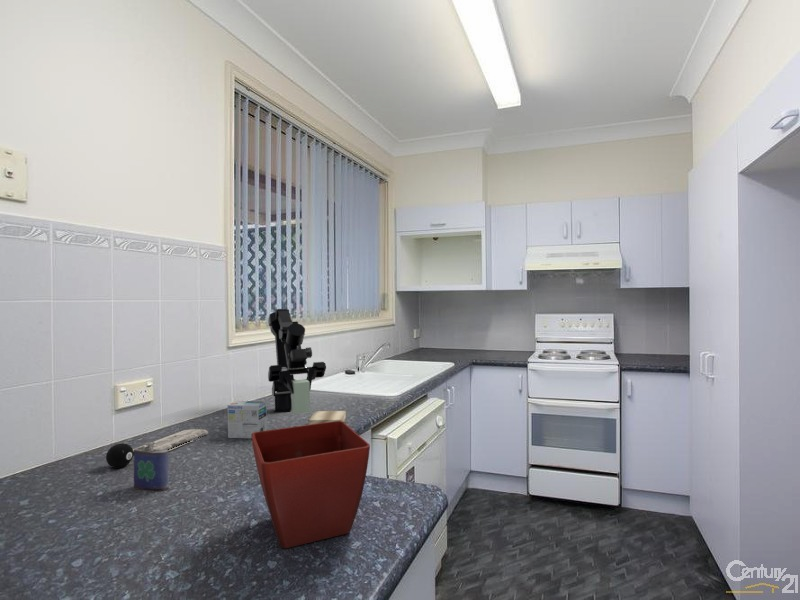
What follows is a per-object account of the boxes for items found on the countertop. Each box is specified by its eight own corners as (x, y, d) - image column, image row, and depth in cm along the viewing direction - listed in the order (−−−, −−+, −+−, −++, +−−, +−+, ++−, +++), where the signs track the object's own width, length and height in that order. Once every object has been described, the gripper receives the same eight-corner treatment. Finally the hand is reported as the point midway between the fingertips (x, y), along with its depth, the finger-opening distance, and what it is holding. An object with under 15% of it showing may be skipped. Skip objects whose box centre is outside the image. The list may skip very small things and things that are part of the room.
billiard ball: (120, 471, 115) (120, 448, 115) (100, 470, 116) (100, 447, 116) (138, 463, 121) (138, 441, 121) (119, 462, 122) (119, 440, 122)
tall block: (291, 410, 148) (291, 380, 148) (306, 408, 150) (306, 379, 150) (294, 414, 144) (294, 383, 144) (310, 412, 146) (309, 381, 146)
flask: (171, 487, 104) (170, 441, 104) (161, 492, 102) (160, 445, 101) (140, 483, 107) (139, 439, 107) (129, 488, 104) (128, 442, 104)
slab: (308, 429, 150) (308, 420, 150) (315, 419, 162) (315, 411, 162) (341, 428, 150) (341, 419, 150) (345, 419, 162) (345, 410, 162)
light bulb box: (267, 432, 147) (267, 400, 147) (259, 439, 140) (258, 404, 140) (236, 432, 148) (236, 399, 148) (227, 438, 141) (226, 404, 141)
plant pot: (263, 566, 73) (261, 462, 73) (251, 515, 90) (250, 431, 90) (373, 539, 80) (371, 445, 80) (343, 497, 98) (342, 420, 98)
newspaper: (157, 459, 125) (156, 450, 125) (124, 460, 129) (123, 451, 129) (214, 435, 146) (214, 427, 146) (185, 436, 150) (184, 428, 150)
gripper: (268, 341, 147) (274, 380, 137) (324, 338, 154) (333, 375, 144) (265, 362, 154) (271, 400, 144) (319, 358, 161) (327, 394, 151)
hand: (301, 392), depth 146 cm, fingers closed on tall block, 5 cm apart
